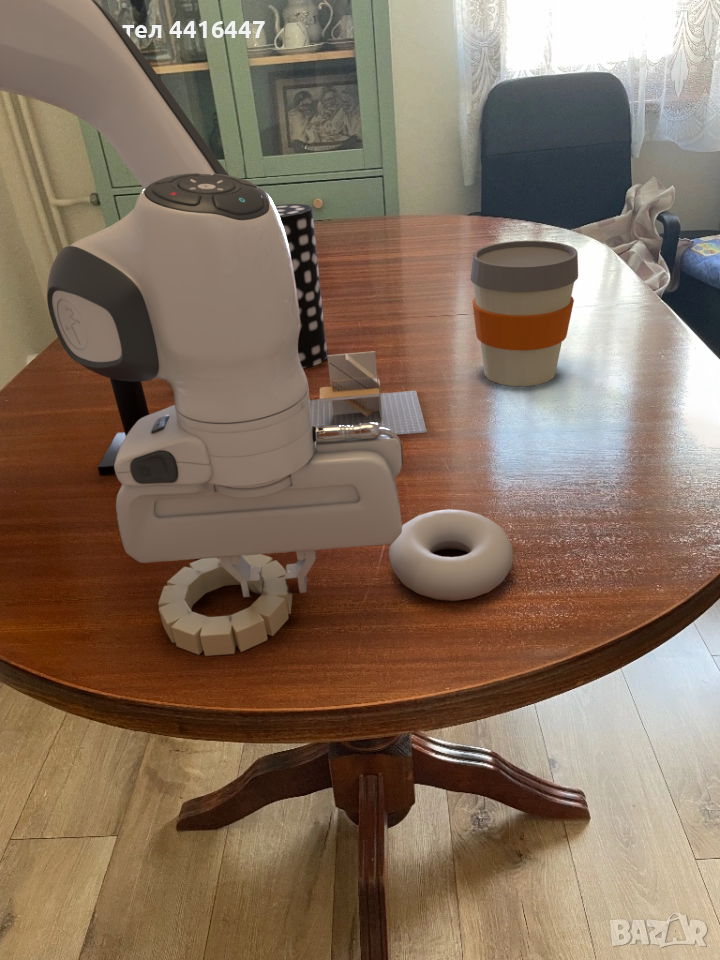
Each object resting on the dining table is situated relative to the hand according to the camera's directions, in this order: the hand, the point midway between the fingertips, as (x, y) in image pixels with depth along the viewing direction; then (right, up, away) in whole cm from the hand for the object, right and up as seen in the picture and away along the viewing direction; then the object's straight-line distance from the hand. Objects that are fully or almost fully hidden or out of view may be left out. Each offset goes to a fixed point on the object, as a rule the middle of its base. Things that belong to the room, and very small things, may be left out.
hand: (275, 590), depth 57 cm
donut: (+14, +1, +3) cm, 14 cm away
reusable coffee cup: (+27, +22, +36) cm, 51 cm away
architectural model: (+6, +16, +29) cm, 34 cm away
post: (-17, +11, +25) cm, 32 cm away
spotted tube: (-2, +26, +46) cm, 53 cm away
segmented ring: (-4, -2, +1) cm, 4 cm away
